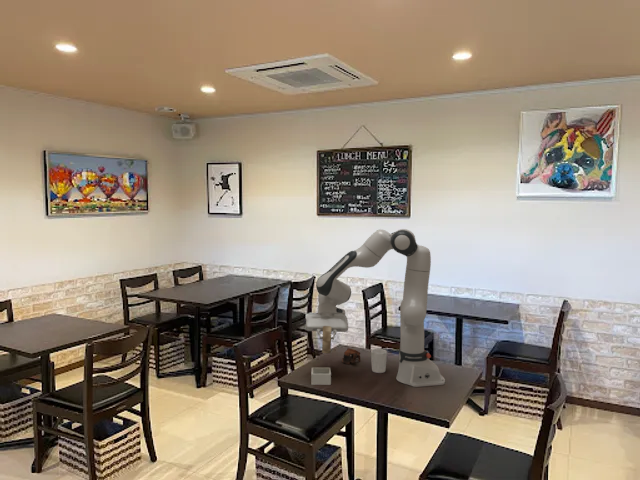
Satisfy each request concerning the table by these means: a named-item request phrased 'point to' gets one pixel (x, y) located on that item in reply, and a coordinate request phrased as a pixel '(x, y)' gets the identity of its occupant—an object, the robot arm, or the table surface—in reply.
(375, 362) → the white cup
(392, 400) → the table surface
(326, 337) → the peg
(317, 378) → the socket box
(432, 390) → the table surface
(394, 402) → the table surface
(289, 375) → the table surface
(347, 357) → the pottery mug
